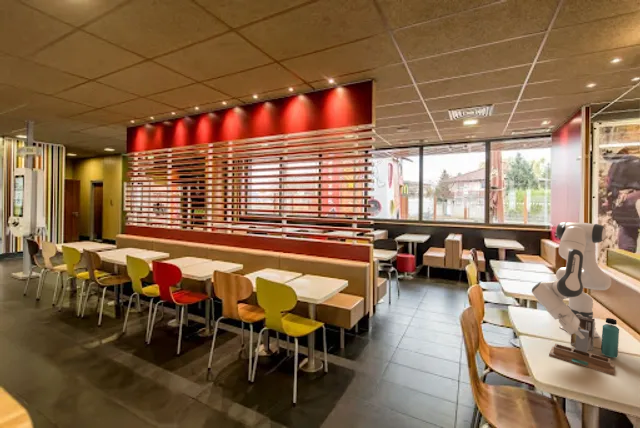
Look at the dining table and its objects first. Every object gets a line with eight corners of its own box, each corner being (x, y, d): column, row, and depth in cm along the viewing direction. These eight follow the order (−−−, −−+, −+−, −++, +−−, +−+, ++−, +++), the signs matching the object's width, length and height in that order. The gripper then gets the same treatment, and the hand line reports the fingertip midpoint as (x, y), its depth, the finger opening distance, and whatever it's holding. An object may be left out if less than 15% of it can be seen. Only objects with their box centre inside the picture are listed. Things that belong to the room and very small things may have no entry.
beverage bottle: (621, 361, 154) (624, 322, 153) (605, 359, 156) (608, 320, 155) (611, 355, 161) (614, 317, 160) (596, 353, 162) (599, 316, 161)
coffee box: (593, 347, 169) (595, 318, 168) (591, 351, 165) (593, 321, 164) (572, 341, 176) (574, 313, 175) (569, 344, 171) (571, 316, 171)
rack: (552, 348, 166) (553, 340, 166) (613, 365, 150) (614, 357, 149) (548, 356, 157) (549, 348, 157) (613, 375, 140) (614, 367, 140)
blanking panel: (575, 347, 156) (577, 328, 156) (587, 350, 153) (588, 331, 152) (575, 349, 154) (576, 329, 153) (586, 352, 151) (588, 332, 150)
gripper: (563, 313, 150) (588, 340, 143) (568, 304, 165) (591, 328, 158) (551, 319, 153) (575, 346, 147) (557, 310, 168) (579, 334, 161)
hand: (584, 337), depth 153 cm, fingers closed on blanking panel, 3 cm apart
